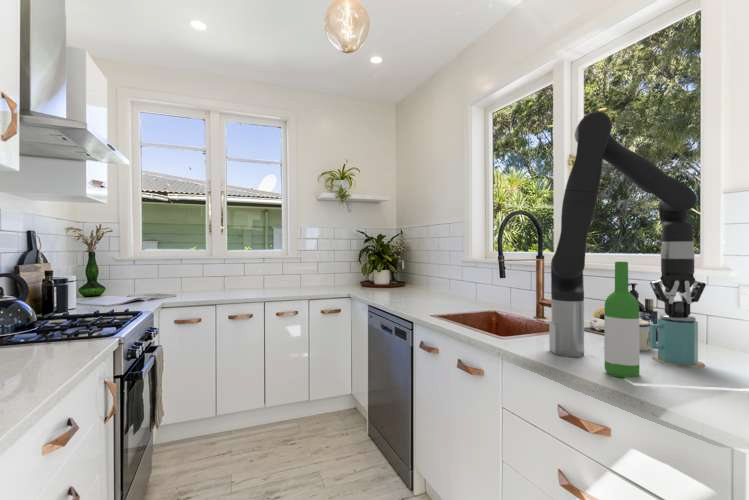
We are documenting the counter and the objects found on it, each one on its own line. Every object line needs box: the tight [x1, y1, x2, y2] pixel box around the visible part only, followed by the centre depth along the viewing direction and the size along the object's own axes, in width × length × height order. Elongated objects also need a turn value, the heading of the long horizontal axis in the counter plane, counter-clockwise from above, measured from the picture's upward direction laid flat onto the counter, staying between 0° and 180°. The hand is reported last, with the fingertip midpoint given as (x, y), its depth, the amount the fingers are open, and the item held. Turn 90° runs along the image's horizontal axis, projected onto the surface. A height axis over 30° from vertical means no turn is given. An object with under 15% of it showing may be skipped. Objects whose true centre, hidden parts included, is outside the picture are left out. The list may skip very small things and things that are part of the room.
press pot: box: [649, 317, 699, 366], centre depth 107 cm, size 11×8×12 cm
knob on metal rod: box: [659, 300, 697, 322], centre depth 107 cm, size 8×8×15 cm
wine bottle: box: [603, 261, 641, 379], centre depth 98 cm, size 8×8×30 cm
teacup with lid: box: [639, 317, 651, 351], centre depth 125 cm, size 12×9×12 cm
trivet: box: [651, 354, 706, 369], centre depth 107 cm, size 12×12×1 cm
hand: (677, 316), depth 107 cm, fingers closed on knob on metal rod, 3 cm apart
